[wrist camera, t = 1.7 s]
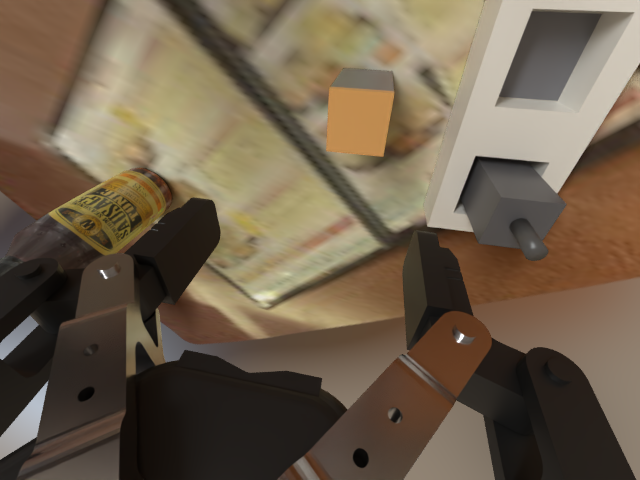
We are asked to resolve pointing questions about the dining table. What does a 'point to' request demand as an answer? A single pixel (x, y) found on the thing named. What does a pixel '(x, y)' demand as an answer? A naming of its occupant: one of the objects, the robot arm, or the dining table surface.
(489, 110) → the white rectangular frame
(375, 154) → the plug
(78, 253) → the sauce bottle
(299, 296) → the dining table surface
